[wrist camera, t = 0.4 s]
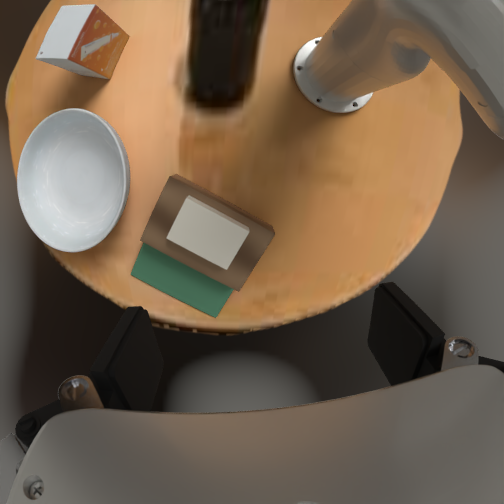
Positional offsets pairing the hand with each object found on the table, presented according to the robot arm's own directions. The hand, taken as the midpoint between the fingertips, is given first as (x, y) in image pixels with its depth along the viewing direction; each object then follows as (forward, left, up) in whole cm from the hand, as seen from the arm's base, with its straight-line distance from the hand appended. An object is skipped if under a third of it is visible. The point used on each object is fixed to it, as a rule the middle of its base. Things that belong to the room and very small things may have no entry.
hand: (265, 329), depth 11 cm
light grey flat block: (+6, -3, -27) cm, 28 cm away
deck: (+7, -3, -31) cm, 32 cm away
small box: (-10, -32, -32) cm, 46 cm away
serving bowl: (+9, -25, -32) cm, 41 cm away
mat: (+16, -3, -31) cm, 35 cm away
